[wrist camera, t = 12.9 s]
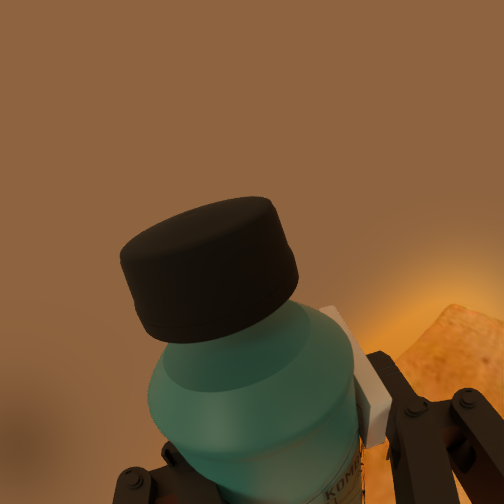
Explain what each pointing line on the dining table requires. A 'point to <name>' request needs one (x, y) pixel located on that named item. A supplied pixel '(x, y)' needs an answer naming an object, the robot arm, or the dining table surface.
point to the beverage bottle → (245, 358)
